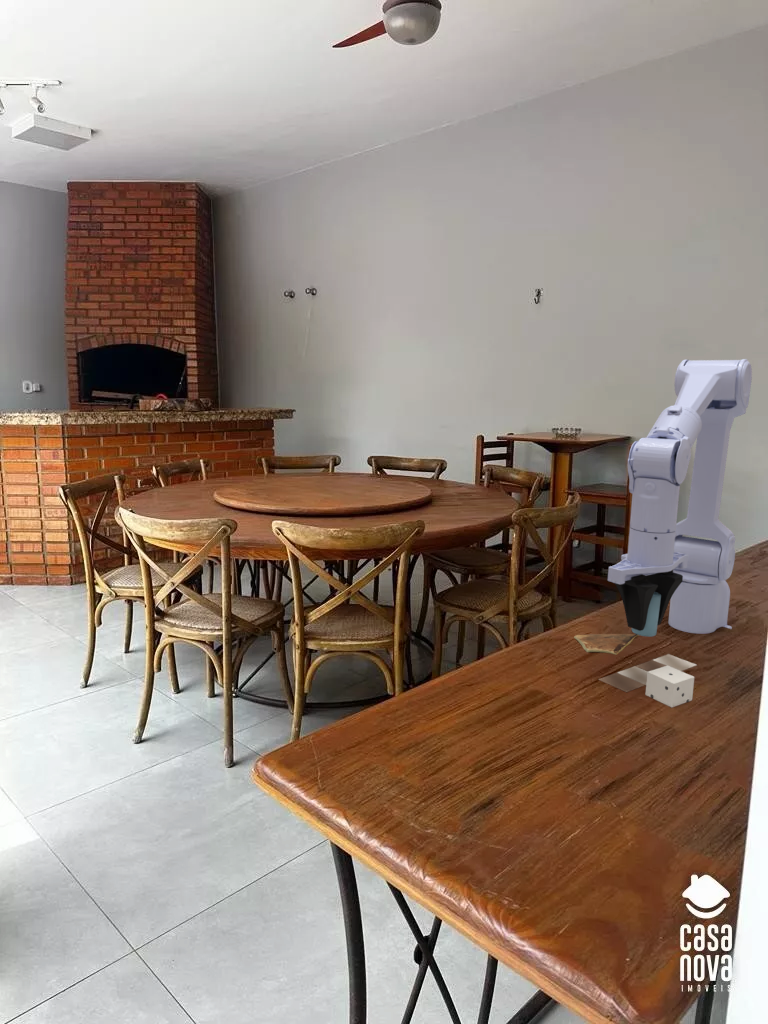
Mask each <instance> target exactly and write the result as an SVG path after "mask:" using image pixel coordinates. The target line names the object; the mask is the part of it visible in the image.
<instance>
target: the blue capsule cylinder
mask: <svg viewBox="0 0 768 1024" xmlns="http://www.w3.org/2000/svg"><path fill="white" fill-rule="evenodd" d="M660 600H661V594H659V593H657V592H654V594H653V596H652V599H651V601H650V604H649V608H648V613H647V619H646V624H645V627H644V629H643V630H641V631H639V630H636V629H633V628H631V632H632V634H637V635H638V636H641V637H655V636H657V631H658V626H659V625H658V616H659V608H660Z"/></svg>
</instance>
